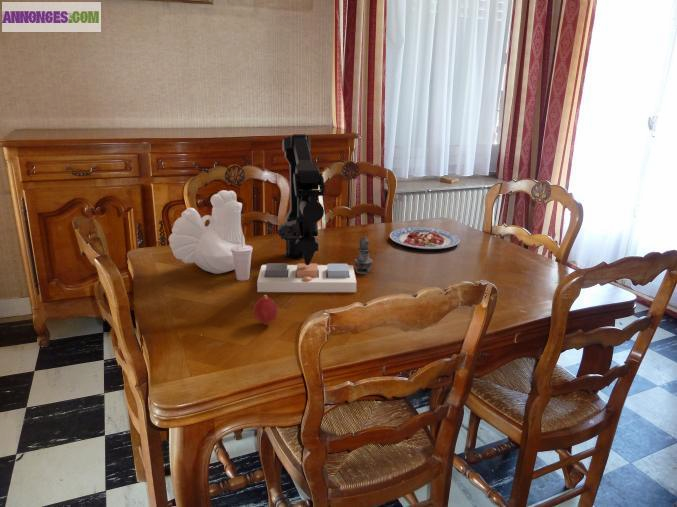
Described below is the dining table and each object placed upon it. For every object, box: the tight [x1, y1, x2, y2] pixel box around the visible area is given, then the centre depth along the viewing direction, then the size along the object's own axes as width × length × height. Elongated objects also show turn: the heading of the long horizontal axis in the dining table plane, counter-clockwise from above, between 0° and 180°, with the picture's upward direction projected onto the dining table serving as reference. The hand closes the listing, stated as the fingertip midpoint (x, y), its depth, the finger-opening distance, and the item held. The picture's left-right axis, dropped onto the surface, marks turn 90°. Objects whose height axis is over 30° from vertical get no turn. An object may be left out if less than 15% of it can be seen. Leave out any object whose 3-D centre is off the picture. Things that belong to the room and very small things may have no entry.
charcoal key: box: [265, 262, 288, 278], centre depth 154 cm, size 6×6×3 cm
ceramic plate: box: [389, 226, 460, 250], centre depth 195 cm, size 26×26×3 cm
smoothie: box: [231, 232, 254, 282], centre depth 155 cm, size 6×6×14 cm
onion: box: [253, 294, 279, 326], centre depth 128 cm, size 6×6×8 cm
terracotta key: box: [296, 262, 319, 278], centre depth 154 cm, size 6×6×3 cm
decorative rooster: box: [168, 189, 246, 275], centre depth 159 cm, size 25×16×25 cm, turn 125°
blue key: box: [326, 263, 349, 278], centre depth 154 cm, size 6×6×3 cm
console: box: [256, 264, 357, 293], centre depth 155 cm, size 28×14×4 cm, turn 93°
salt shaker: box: [354, 234, 374, 275], centre depth 163 cm, size 6×6×12 cm
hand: (307, 264), depth 153 cm, fingers closed
